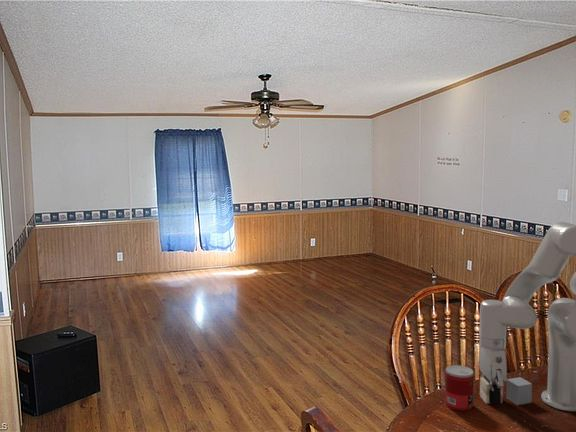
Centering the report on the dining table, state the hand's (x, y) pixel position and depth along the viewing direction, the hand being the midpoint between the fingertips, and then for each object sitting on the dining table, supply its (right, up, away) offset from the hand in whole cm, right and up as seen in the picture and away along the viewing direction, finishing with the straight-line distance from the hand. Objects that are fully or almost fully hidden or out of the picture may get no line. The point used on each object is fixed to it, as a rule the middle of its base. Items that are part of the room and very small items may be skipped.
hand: (490, 397), depth 160 cm
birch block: (0, -1, 0) cm, 1 cm away
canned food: (-11, -1, -3) cm, 11 cm away
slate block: (+8, -1, -1) cm, 8 cm away
